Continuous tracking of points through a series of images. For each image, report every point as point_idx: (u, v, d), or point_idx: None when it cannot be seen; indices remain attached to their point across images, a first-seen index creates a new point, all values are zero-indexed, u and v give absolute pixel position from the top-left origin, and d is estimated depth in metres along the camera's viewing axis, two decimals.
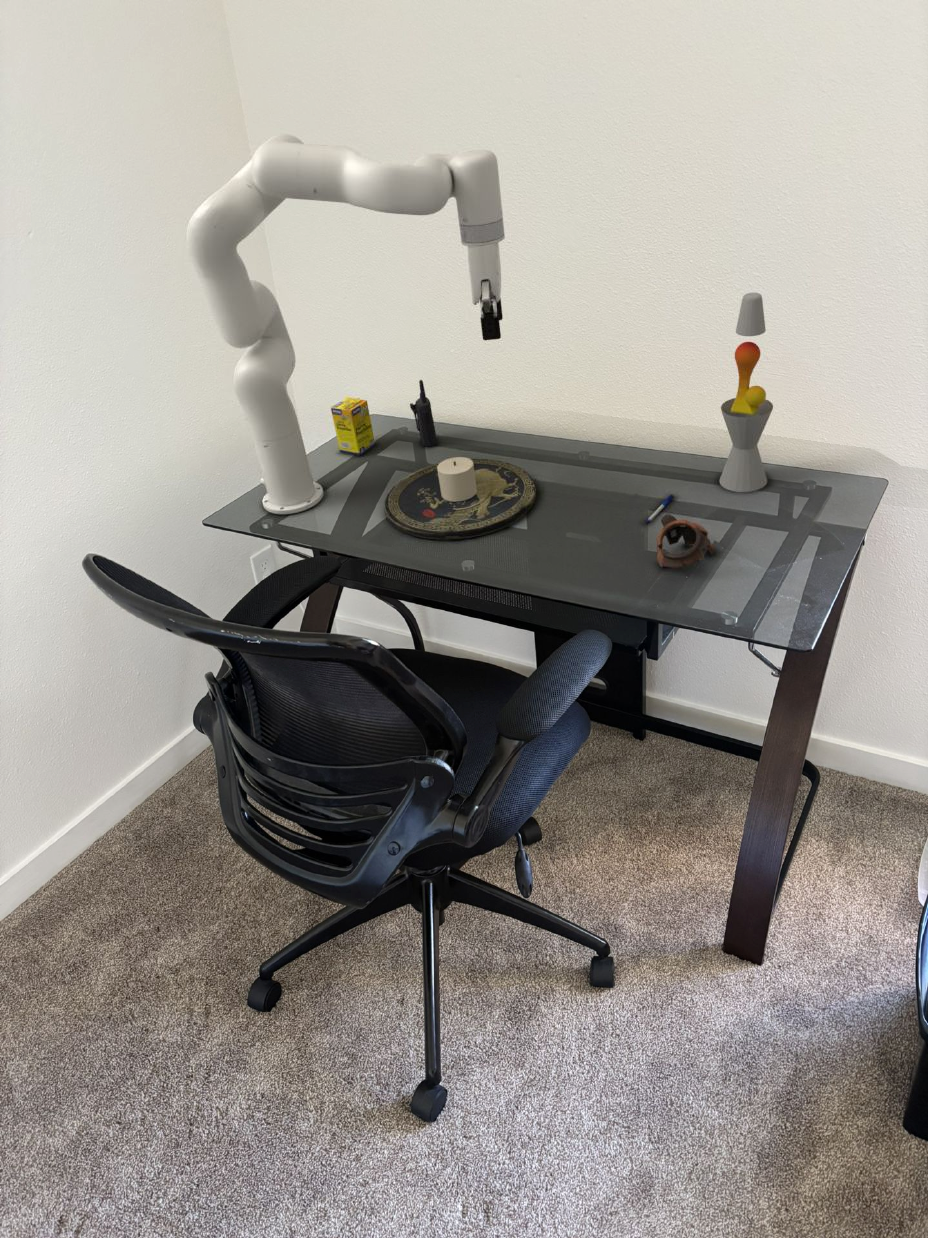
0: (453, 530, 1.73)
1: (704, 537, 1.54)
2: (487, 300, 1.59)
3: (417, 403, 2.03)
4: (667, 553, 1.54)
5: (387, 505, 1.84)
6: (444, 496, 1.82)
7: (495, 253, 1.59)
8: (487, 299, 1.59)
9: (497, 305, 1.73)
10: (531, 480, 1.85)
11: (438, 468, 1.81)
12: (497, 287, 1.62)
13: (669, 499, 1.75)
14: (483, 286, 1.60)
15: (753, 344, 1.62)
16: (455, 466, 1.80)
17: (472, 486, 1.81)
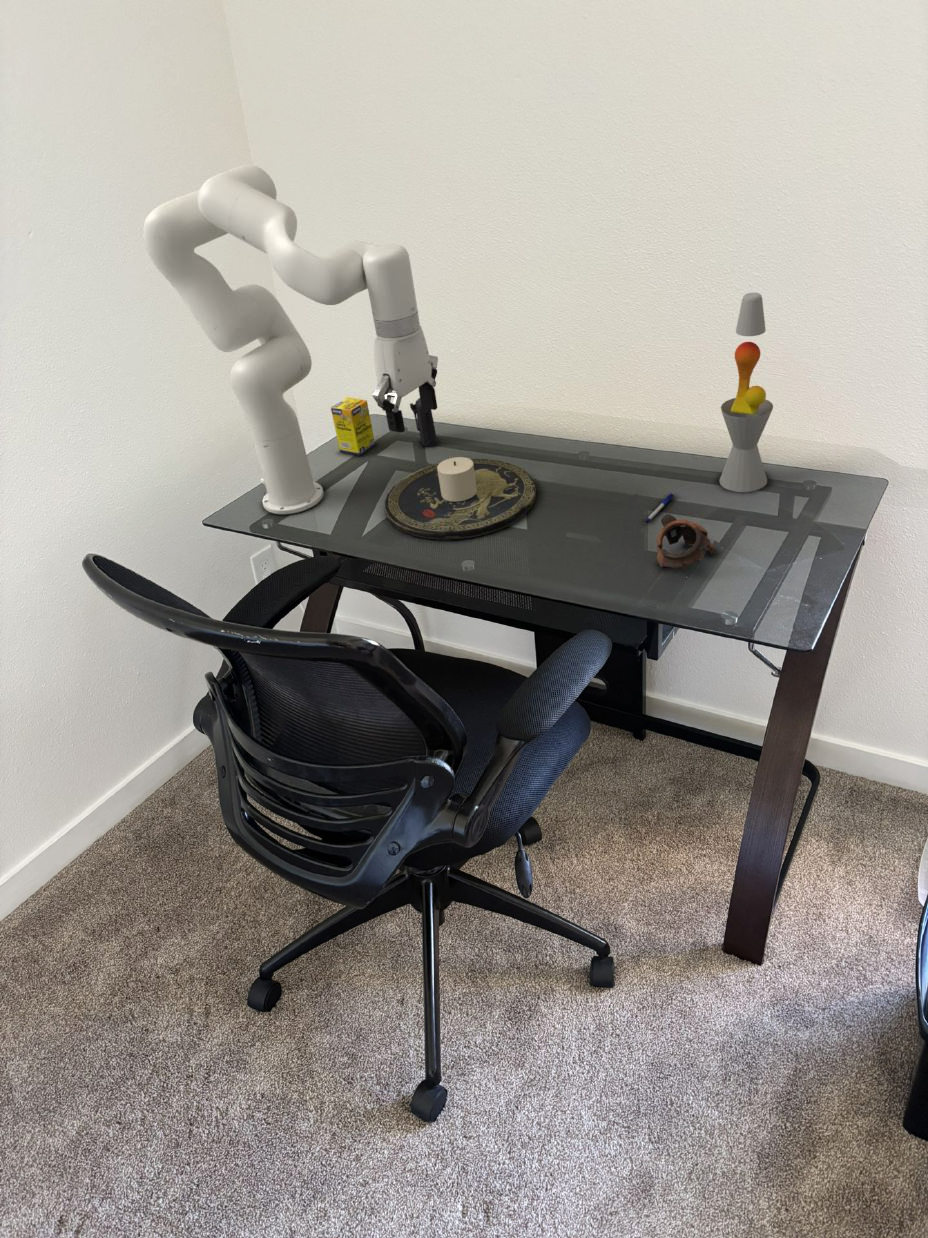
0: (453, 530, 1.73)
1: (704, 537, 1.54)
2: (376, 396, 1.57)
3: (417, 403, 2.03)
4: (667, 553, 1.54)
5: (387, 505, 1.84)
6: (444, 496, 1.82)
7: (397, 350, 1.55)
8: (376, 395, 1.57)
9: (430, 395, 1.68)
10: (531, 480, 1.85)
11: (438, 468, 1.81)
12: (397, 383, 1.58)
13: (669, 498, 1.74)
14: (381, 380, 1.58)
15: (753, 344, 1.62)
16: (455, 466, 1.80)
17: (472, 486, 1.81)
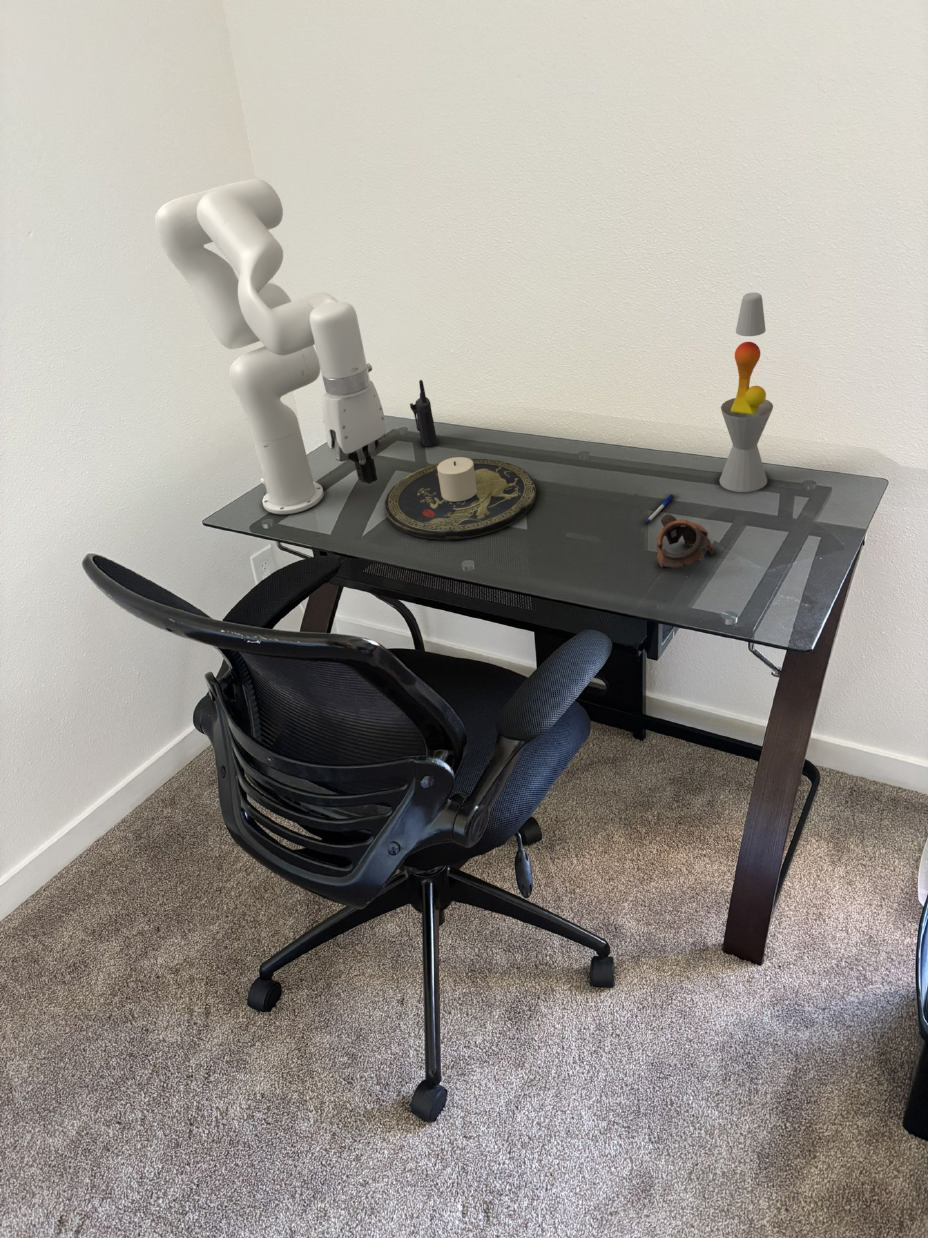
0: (453, 530, 1.73)
1: (704, 537, 1.54)
2: None
3: (417, 403, 2.03)
4: (667, 553, 1.54)
5: (387, 505, 1.84)
6: (444, 496, 1.82)
7: (342, 408, 1.53)
8: (339, 460, 1.59)
9: None
10: (531, 480, 1.85)
11: (438, 468, 1.81)
12: (343, 440, 1.56)
13: (669, 499, 1.75)
14: (335, 442, 1.58)
15: (753, 344, 1.62)
16: (455, 466, 1.80)
17: (472, 486, 1.81)
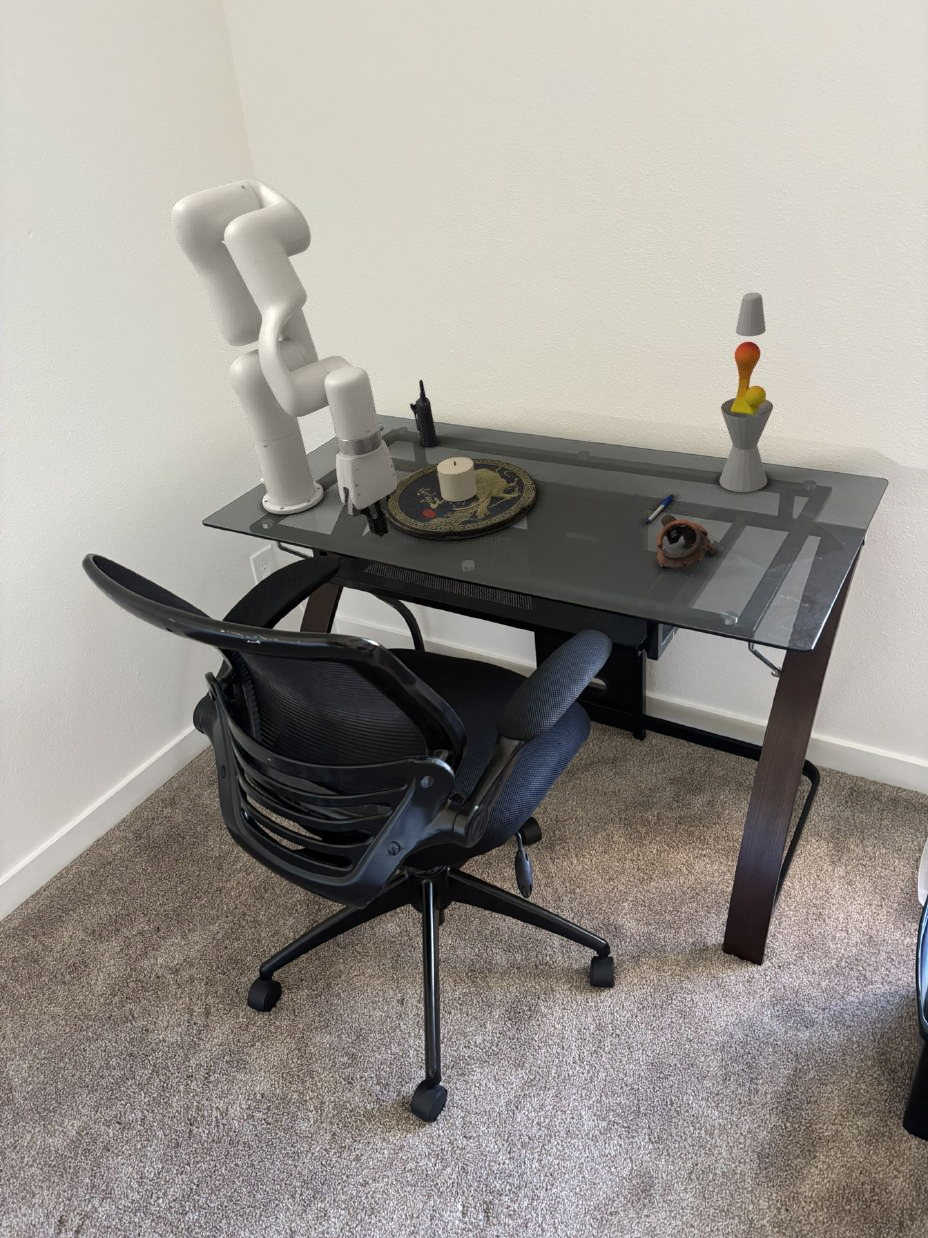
0: (453, 530, 1.73)
1: (704, 537, 1.54)
2: None
3: (417, 403, 2.03)
4: (667, 553, 1.54)
5: (387, 505, 1.84)
6: (444, 496, 1.82)
7: (355, 467, 1.60)
8: (351, 515, 1.65)
9: None
10: (531, 480, 1.85)
11: (438, 468, 1.81)
12: (355, 497, 1.62)
13: (669, 499, 1.75)
14: (348, 499, 1.64)
15: (753, 344, 1.62)
16: (455, 466, 1.80)
17: (472, 486, 1.81)
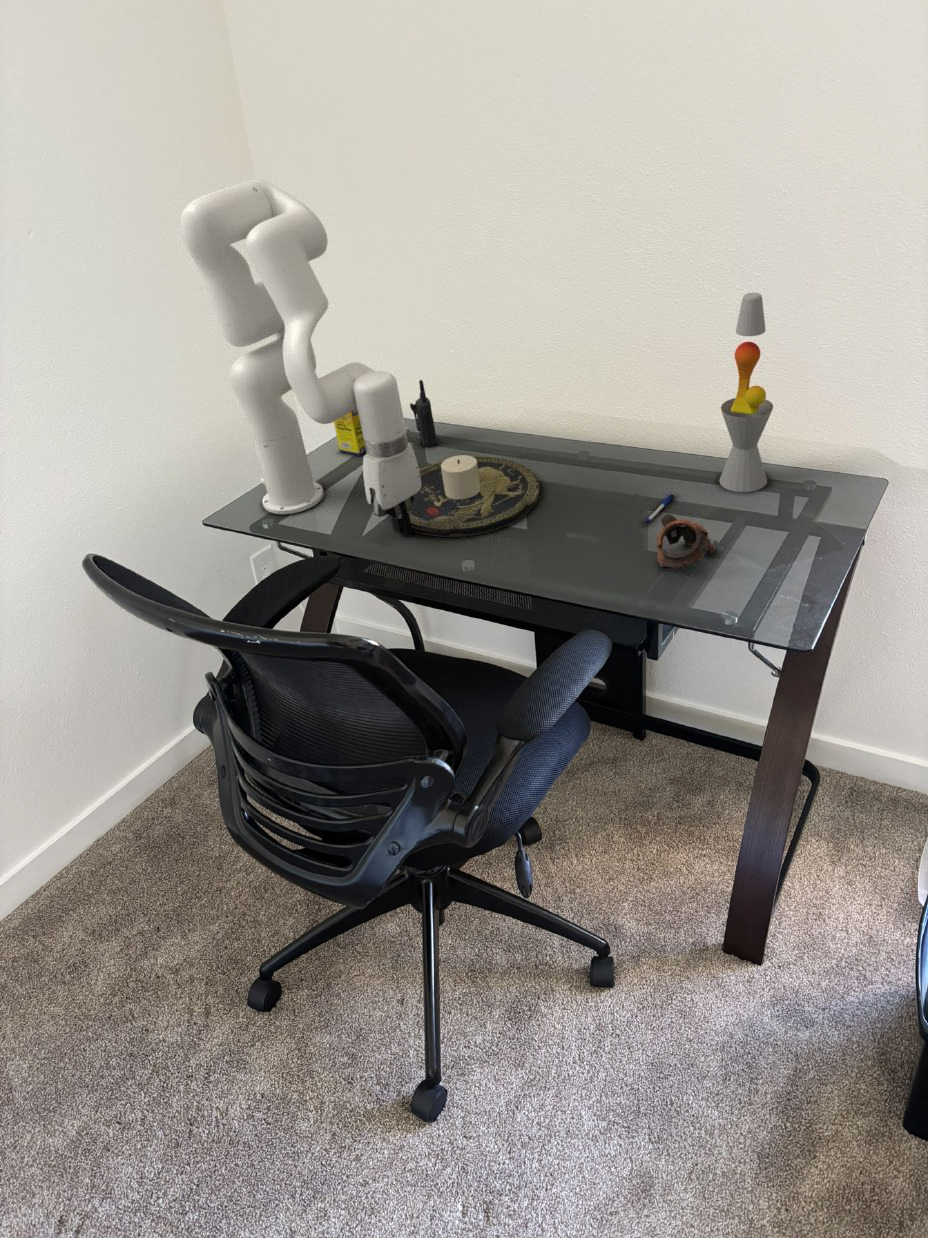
0: (457, 528, 1.74)
1: (704, 537, 1.54)
2: None
3: (417, 403, 2.03)
4: (667, 553, 1.54)
5: None
6: (448, 494, 1.83)
7: (381, 469, 1.64)
8: (377, 515, 1.70)
9: None
10: (535, 478, 1.86)
11: (442, 466, 1.81)
12: (381, 498, 1.67)
13: (669, 498, 1.75)
14: (374, 499, 1.69)
15: (753, 344, 1.62)
16: (459, 464, 1.81)
17: (475, 484, 1.82)
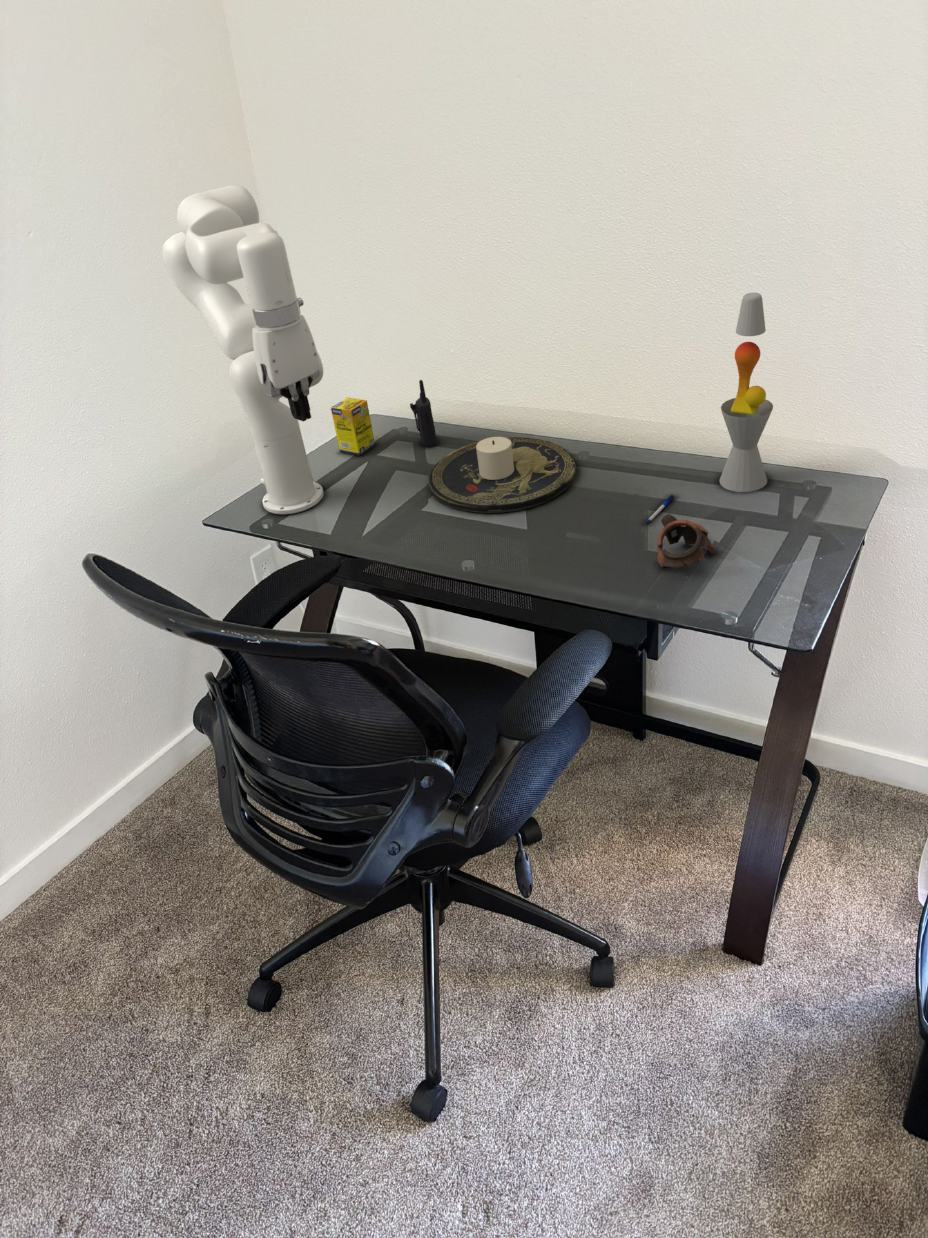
0: (496, 504, 1.79)
1: (704, 537, 1.54)
2: (271, 396, 1.58)
3: (417, 403, 2.03)
4: (667, 553, 1.54)
5: (432, 480, 1.90)
6: (482, 474, 1.88)
7: (271, 341, 1.53)
8: (270, 395, 1.58)
9: None
10: (571, 458, 1.91)
11: (477, 447, 1.86)
12: (273, 375, 1.55)
13: (669, 499, 1.75)
14: (266, 377, 1.57)
15: (753, 344, 1.62)
16: (494, 445, 1.86)
17: (510, 465, 1.86)
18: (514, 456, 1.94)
